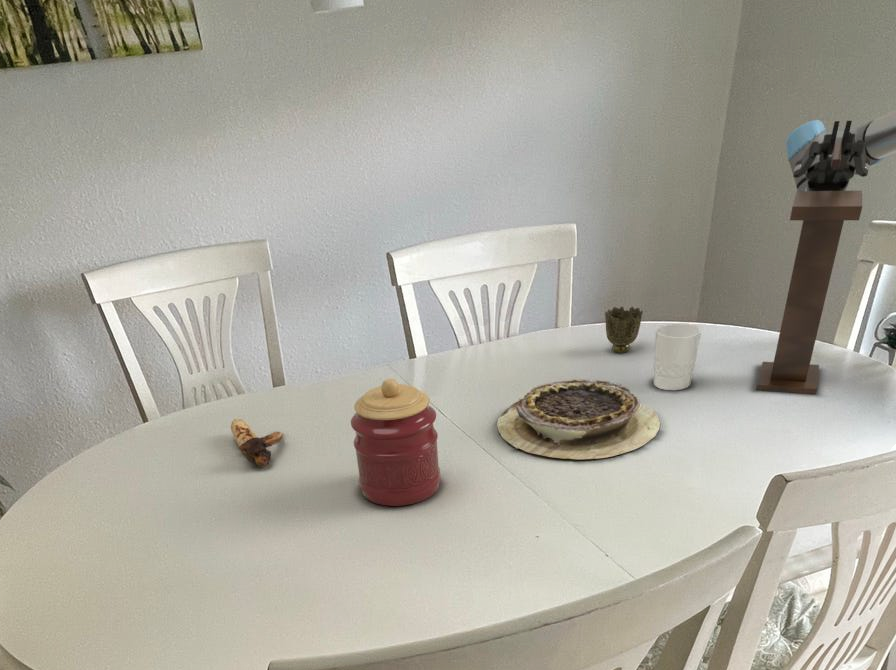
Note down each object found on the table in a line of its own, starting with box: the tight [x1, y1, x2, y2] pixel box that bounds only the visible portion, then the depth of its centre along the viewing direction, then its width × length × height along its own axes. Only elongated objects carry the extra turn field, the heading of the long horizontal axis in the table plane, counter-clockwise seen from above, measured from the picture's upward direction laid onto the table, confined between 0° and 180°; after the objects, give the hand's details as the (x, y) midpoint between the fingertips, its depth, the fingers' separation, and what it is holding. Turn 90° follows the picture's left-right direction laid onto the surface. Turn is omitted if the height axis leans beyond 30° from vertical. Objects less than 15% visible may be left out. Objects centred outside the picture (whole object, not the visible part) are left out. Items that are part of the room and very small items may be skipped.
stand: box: [755, 190, 863, 395], centre depth 136 cm, size 10×12×30 cm
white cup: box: [652, 323, 702, 391], centre depth 145 cm, size 8×8×10 cm
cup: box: [604, 306, 644, 354], centre depth 161 cm, size 8×7×8 cm
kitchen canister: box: [350, 378, 441, 507], centre depth 119 cm, size 13×13×18 cm
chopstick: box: [831, 137, 842, 168], centre depth 132 cm, size 1×22×1 cm, turn 157°
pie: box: [496, 378, 661, 460], centre depth 136 cm, size 28×27×5 cm
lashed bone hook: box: [230, 418, 283, 468], centre depth 139 cm, size 9×5×18 cm
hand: (841, 129), depth 133 cm, fingers closed on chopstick
